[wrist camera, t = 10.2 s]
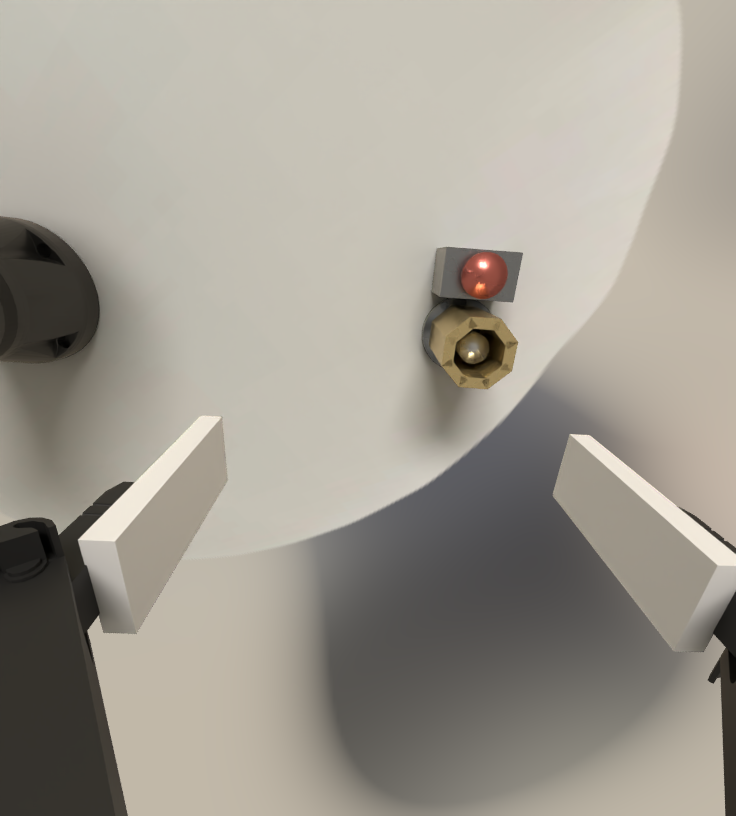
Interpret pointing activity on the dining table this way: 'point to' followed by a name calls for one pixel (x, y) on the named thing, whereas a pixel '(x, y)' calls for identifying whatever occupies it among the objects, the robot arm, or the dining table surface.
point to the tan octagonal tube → (457, 325)
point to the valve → (471, 290)
